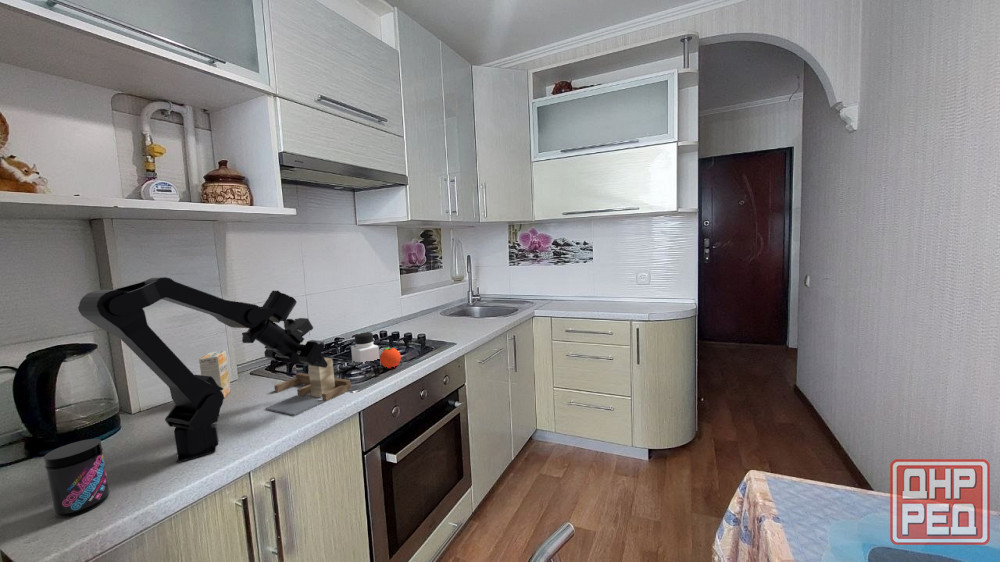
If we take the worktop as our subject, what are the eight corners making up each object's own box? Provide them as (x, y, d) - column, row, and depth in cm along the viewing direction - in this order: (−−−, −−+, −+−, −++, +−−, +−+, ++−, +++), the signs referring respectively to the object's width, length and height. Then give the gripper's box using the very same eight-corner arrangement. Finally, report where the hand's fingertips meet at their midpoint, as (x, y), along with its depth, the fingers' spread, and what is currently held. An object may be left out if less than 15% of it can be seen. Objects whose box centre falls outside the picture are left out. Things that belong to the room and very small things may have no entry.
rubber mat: (295, 415, 100) (294, 414, 100) (265, 409, 105) (265, 407, 105) (324, 402, 108) (324, 400, 108) (296, 396, 113) (296, 395, 113)
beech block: (322, 397, 111) (318, 363, 110) (311, 395, 113) (307, 362, 112) (335, 391, 115) (332, 358, 114) (324, 389, 117) (321, 357, 116)
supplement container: (50, 525, 63) (38, 464, 62) (58, 506, 68) (47, 449, 67) (108, 505, 67) (99, 448, 66) (112, 488, 72) (103, 434, 71)
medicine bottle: (380, 365, 138) (377, 332, 137) (361, 370, 134) (357, 336, 132) (371, 361, 144) (368, 329, 142) (352, 366, 139) (349, 333, 138)
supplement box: (224, 400, 114) (218, 356, 113) (204, 403, 112) (198, 359, 111) (231, 390, 122) (226, 349, 120) (213, 393, 120) (207, 352, 119)
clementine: (375, 368, 135) (373, 348, 134) (392, 363, 140) (390, 343, 140) (388, 372, 130) (386, 351, 129) (405, 366, 135) (404, 346, 134)
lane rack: (326, 401, 108) (325, 390, 108) (275, 391, 118) (273, 382, 118) (351, 389, 116) (350, 379, 116) (301, 381, 126) (300, 372, 126)
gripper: (314, 311, 101) (352, 341, 112) (269, 309, 110) (308, 338, 121) (290, 349, 95) (332, 377, 106) (244, 344, 104) (288, 371, 115)
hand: (315, 364), depth 112 cm, fingers open, 9 cm apart
